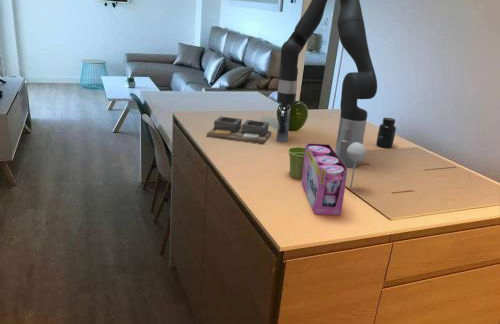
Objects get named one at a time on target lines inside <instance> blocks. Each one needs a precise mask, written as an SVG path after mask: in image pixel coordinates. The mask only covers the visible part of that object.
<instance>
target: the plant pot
mask: <svg viewBox="0 0 500 324" xmlns="http://www.w3.org/2000/svg"><path fill="white" fill-rule="evenodd" d="M305 147H306V146H304V147H303V146H292V147H289V148H288V149H287V152H288V156H289V170H290V171H289V175H290V176H292V178H294V179H299V180H302V174H303V165H304V156H305Z"/></svg>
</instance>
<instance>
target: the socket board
mask: <svg viewBox="0 0 500 324" xmlns="http://www.w3.org/2000/svg"><path fill="white" fill-rule="evenodd" d="M242 120H243V119H242V118H237V117H228V116H219V117H218V118H217V119H216V120H214V121H213V127H212V129H210V131H208V132H206V138H213V139H220V140H226V139H227V140H228V141H234V140H235V141H236V142H241V141H244V142H243V143H248V142H252V143H251V144H256V143H259V144H258V145H263V144H264V143H265V144H266V142H267V141H268V140H267V139H269V138H270V137H271V135H272V131H271V130H269V126H270V125H269V124H270V122H269V121H261V120H260V121H259V120H252V119H246V120H245V121H244V122H243V121H242ZM242 122H243V124H242ZM269 136H270V137H269ZM268 137H269V138H268ZM266 140H267V141H266ZM235 141H234V142H235ZM265 144H264V145H265Z"/></svg>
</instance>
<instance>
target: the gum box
mask: <svg viewBox="0 0 500 324" xmlns="http://www.w3.org/2000/svg"><path fill="white" fill-rule="evenodd" d="M304 147H305V156H304V165H303V174H302V179H301V186H302V188H303V191H304V193H305V197H306V198H307V201H308V203H309V205H310V207H311V210H312V212H313V214H314V215H327V216H328V215H330V216H331V215H333V216H341V215H342V211H343V205H344V204H343V203H344V197H345V191H346V182H347V174H348V167H346V166H345V164H344V163H343V162H342V161H341V159H340V158H339V157H338V156H337V154H336V153H335V150H334V149H333V147H332V146H331V145H330V144H327V143H323V144H322V143H309V142H308V143H305V146H304Z"/></svg>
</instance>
